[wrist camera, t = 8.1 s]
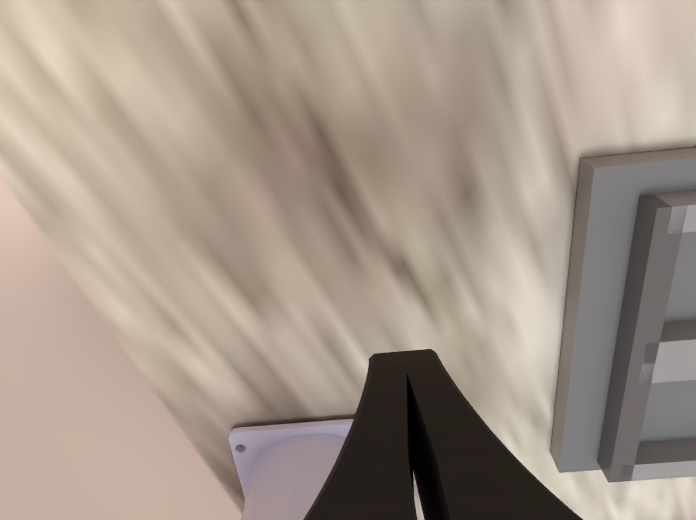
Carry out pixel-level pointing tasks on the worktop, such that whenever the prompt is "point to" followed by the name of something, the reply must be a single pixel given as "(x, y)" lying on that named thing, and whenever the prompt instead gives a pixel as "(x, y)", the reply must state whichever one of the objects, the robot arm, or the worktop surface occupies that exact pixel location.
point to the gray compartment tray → (630, 320)
